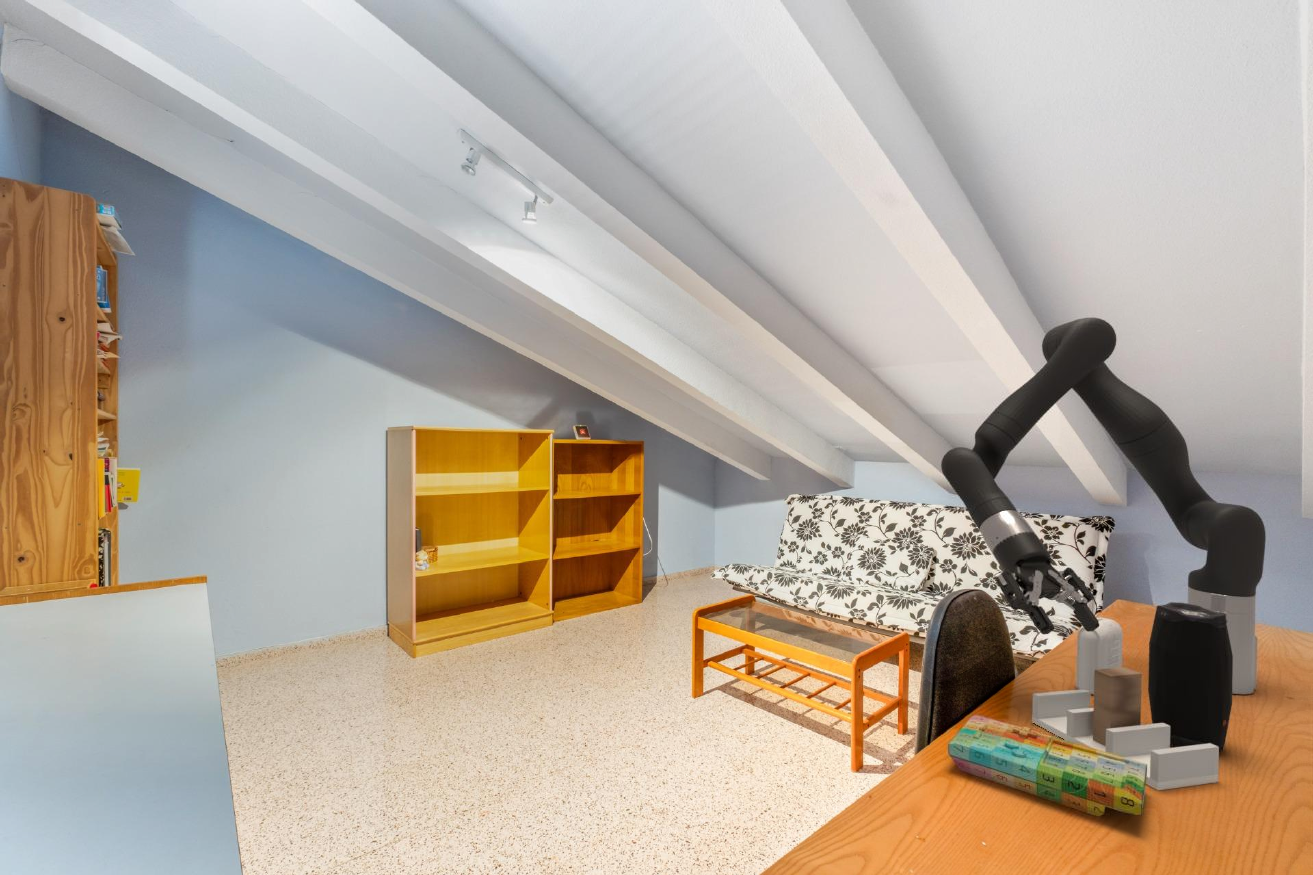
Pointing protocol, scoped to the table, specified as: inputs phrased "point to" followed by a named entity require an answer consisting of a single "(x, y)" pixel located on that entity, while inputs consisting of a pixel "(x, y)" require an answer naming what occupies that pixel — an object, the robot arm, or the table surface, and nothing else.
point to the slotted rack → (1128, 741)
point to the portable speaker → (1190, 674)
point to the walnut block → (1115, 700)
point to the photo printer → (1098, 651)
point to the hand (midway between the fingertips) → (1072, 630)
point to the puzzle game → (1049, 767)
